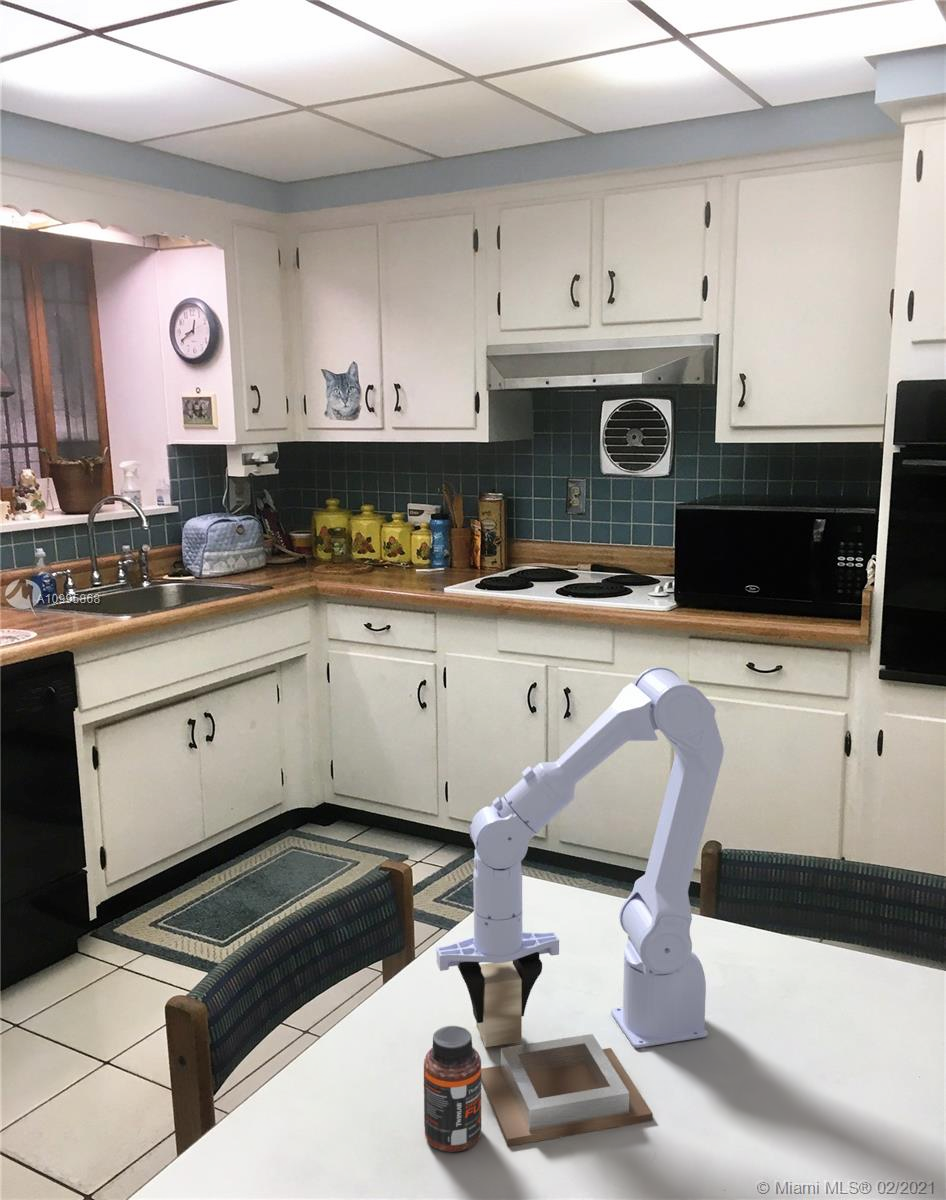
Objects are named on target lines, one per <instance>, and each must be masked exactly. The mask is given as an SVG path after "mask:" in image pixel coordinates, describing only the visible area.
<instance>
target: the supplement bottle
mask: <svg viewBox="0 0 946 1200" xmlns="http://www.w3.org/2000/svg"><path fill="white" fill-rule="evenodd" d="M472 1039H473V1038H472V1033H471V1032H470V1030H468V1029H467V1028H465V1027H462V1026H459V1025H448V1026H447V1025H446V1026H443V1027H440V1028H438V1029H436V1031H435V1032H434V1033H433V1036H432V1045H431V1046H432V1048H430V1049H429V1050H428V1051H427V1053H426V1054H425V1057H424V1060H423V1108H424V1109H423V1112H424V1113H423V1114H424V1115H423V1119H424V1120H423V1122H424V1136H425V1139H426V1141H427V1142H428V1144H429V1145H431V1146H432V1147H433V1148H435V1149H436V1150H437V1149H438V1150H439V1151H443V1152H448V1153H449V1152H451V1153H453V1152H454V1153H457V1152H462V1151H465V1150H467V1149H469V1148H471V1147H473V1146H474V1145H475V1144H476V1143H477V1142H478V1141H479V1139H480V1137H481V1134H482V1083H481V1069H482V1058H481V1055H480V1054H479V1052H478V1051H477V1050H476V1049H475V1048H474V1047H473V1040H472Z"/></svg>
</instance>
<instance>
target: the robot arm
mask: <svg viewBox="0 0 946 1200" xmlns="http://www.w3.org/2000/svg"><path fill="white" fill-rule="evenodd" d="M657 730H659V731H660V732H661V733H662V734H663V736H664V737H665V739H666V741H668V743H669V744H670V746H671V747H672V748H673V750H674V752H675V755H674V759H673V763H672V767H671V772H670V775H669V777H668V781H667V782H668V783H667V786H666V789H665V794H664V798H663V802H662V806H661V810H660V814H659V818H658V820H657V821H658V822H657V826H656V830H655V833H654V837H653V842H652V846H651V849H650V852H649V857H648V860H647V861H648V862H647V866H646V869H645V873H644V874H643V875H642V876H641V877H639V878H638V879H636V880H635V882H634V884H633V885H634V886H633V889H632V891H631V893H630V895H629V896H628V897H627V898H626V899H625V901H624V902H623V904H622V905H621V908H620V911H619V917H618V918H619V923H620V926H621V928H622V930H623V931H624V933H626V934H627V943H626V945H625V948H624V952H623V983H622V984H623V985H622V986H623V993H622V996H623V997H622V1006H619V1007H613V1008H611V1010H610V1014H611V1015H612V1017H613V1019H614V1020H615V1021H616V1023H617V1024H618V1026H619V1027H620V1029H621V1030H622V1031H623V1033H624V1035H625V1037H626V1038H627V1039H628V1041H629V1042H630V1043H631V1045H632V1046H633V1047H634V1048H636V1049H637V1048H646V1047H652V1046H657V1045H663V1044H664V1045H666V1044H671V1043H675V1042H681V1041H689V1040H695V1039H696V1040H697V1039H700V1038H706V1037H707V1036H708V1031H707V1030H706V1028H705V1024H706V1023H705V1022H706V1020H705V1019H706V1018H705V1017H706V996H707V986H706V985H707V982H706V976H705V972H704V968H703V965H702V963H701V961H700V959H699V957H698V956H697V954H696V953H694V952H693V951H692V950H693V942H692V938H691V937H692V936H691V935H690V934H691V933H690V931H691V924H692V921H693V917H692V916H693V914H692V909H691V904H690V898H689V890H690V889H689V887H690V885H691V881H692V876H693V872H694V868H695V865H696V862H697V857H698V854H699V851H700V846H701V842H702V838H703V835H704V831H705V827H706V823H707V819H708V816H709V811H710V808H711V804H712V800H713V796H714V792H715V788H716V785H717V781H718V777H719V773H720V771H721V770H720V769H721V765H722V762H723V758H724V754H725V753H724V750H725V748H724V745H723V740H722V737H721V734H720V731H719V728H718V724H717V721H716V708H715V706H714V705H713V704H712V702H711V701H709V699H708V698H707V696H705V694H703V692H702V691H701V690H700V689H698V688H697V686H693V685H691V684H689V683H688V682H686V681H685V679H682V678H681V677H680V676H679V675H678V674H677V673H676V672H675V671H673V670H672V669H670V668H668V667H665V666H655V667H654V666H653V667H649V668H648V669H645V670H644V671H642V672H641V673H640V674H639V675H638V676H637V678H636V679H635V681H634V683H633V682H630V683H629V684H627V685H626V686H624V687H623V689H622V690H621V691H620V692H619V694H618V695H617V696H616V698H615V699H614V701H613V702H612V703H611V705H610V706H609V707H608V708H606V710H605V711H604V712H603V713H601V714H600V715H599V717H598V718H597V719H595V721H593V723H592V724H591V725H590V726H589V727H588V728H587V729H586V730H585V731H584V732H583V733H582V734H581V735H580V737H578V738H577V739H576V741H575V742H574V743H572V745H571V746H570V747H569V748H568V749H567V750H565V752H564V753H563V754H561V756H560V757H559V758H558V759H557V760H556V761H547V762H545V761H544V762H543V761H542V762H538V764H536V765H535V766H534V767H533V768H532V767H531V766H529V765H528V766H527V767H526V768H525V769H524V770H523V771H522V772H521V775H522V776H523V778H521V779H520V780H519V781H518V782H517V783H516V784H515V785H513V787H512V788H511V789H509V791H507V792H506V793H505V794H504V795H503V796H502V797H499V796H496V798H494V800H493V801H492V804H491V805H490V806H487V805H486V806H484V807H483V808H481V809H479V810H478V811H477V812H476V813H475V815H474V816H473V818H472V821H471V823H470V825H469V826H468V833H469V836H470V839H471V841H472V842H473V844H474V848H475V849H474V857H473V866H474V868H473V874H472V875H473V876H472V877H473V883H472V884H473V936H472V937H469V938H466V939H464V940H461V941H458V942H455V943H453V944H452V943H451V944H449V945H445V946H439V947H436V965H437V968H438V969H439V971H440V972H442V971H443V972H444V971H448V970H449V969H450V967H457V969H458V970H459V972H460V975H461V977H462V979H463V980H464V983H465V986H466V988H467V991H468V994H469V998H470V1002H471V1006H472V1013H473V1017H474V1019H475V1021H477V1023H482V1022H483V987H484V980H485V978H484V976H483V974H482V972H481V967H480V965H481V964H480V963H488V964H489V963H504V962H510V961H512V963H513V965H514V967H515V968H516V970H517V972H518V974H519V976H520V977H521V998H522V1017H525V1011H526V1007H527V1004H528V1003H527V1002H528V1000H529V997H530V994H531V992H532V989H533V986H534V985H535V983H536V982H537V979H538V978H539V977H540V975H541V974H542V971H543V962H542V960H541V959H540V955H544V954H549V955H550V956H559V955H560V939H559V937H558V936H557V935H556V933H555V932H554V931H552V932H526V931H525V932H523V870H522V861H523V860H524V859H525V857H526V855H527V852H528V849H529V843H530V840H532V839H533V838H534V837H535V836H536V835H537V834H538V833H539V832H540V831H542V829H543V828H545V827H546V826H547V825H548V824H549V823H550V822H551V821H552V820H553V819H554V818H555V817H557V815H559V813H561V812H562V811H563V810H564V809H565V808H566V807H568V805H570V803H572V802H573V801H574V797H575V790H576V789H575V787H576V785H577V784H578V782H580V781H581V780H582V779H583V778H585V777H586V776H587V775H588V774H590V773H591V772H592V771H593V770H594V769H595V768H597V767H598V766H599V765H600V764H601V763H603V762H604V761H606V759H608V758H609V757H610V756H611V755H613V754H614V753H615V752H616V751H618V749H620V748H622V746H624V745H625V744H626V743H628V742H632V741H633V742H635V741H636V742H637V741H638V742H639V741H642V742H643V741H645V742H646V741H647V742H649V741H651V742H653V741H658V740H659V738H658V735H657V734H656V732H655V731H657Z"/></svg>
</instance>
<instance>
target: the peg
mask: <svg viewBox="0 0 946 1200" xmlns="http://www.w3.org/2000/svg"><path fill="white" fill-rule="evenodd" d="M479 965H480V967H481V972H482V974H483V976H484V978H485V980H484V987H483V1022H482V1023H477V1021H476V1020H475V1021H476V1022H475V1023H476V1026H475V1027H476V1028H477V1031H478V1033H479V1035H480V1038H481V1041H482V1042H483V1044H484V1047H485V1048H489V1047H494V1046H501V1045H508V1044H514V1043H521V1042H522V1041H523V1040H522V1038H523V1037H522V1033H523V1032H522V1030H523V1028H522V1027H523V1026H522V1024H523V1023H522V1018H523V1016H522V998H521V977H520V976H519V974H518V972H517V970H516V968H515V967H514V965H513V962H512V961H510V962H504V963H489V962H488V963H483V964H479Z"/></svg>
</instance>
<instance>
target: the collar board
mask: <svg viewBox="0 0 946 1200" xmlns="http://www.w3.org/2000/svg"><path fill="white" fill-rule="evenodd" d="M481 1086H482V1088H483V1090H484V1093H485V1095H486V1098H487V1100H488V1102H489V1105H490V1107H491V1109H492V1112H493V1114H494V1117H495V1120H496V1122H497V1124H498V1127H499V1130H500V1131H501V1134H502V1137H503V1140H504V1141H505V1144H506V1146H507V1147H511V1146H516V1145H521V1144H527V1143H533V1142H538V1141H544V1140H545V1141H546V1140H549V1139H556V1138H560V1137H566V1136H571V1135H572V1136H573V1135H579V1134H584V1133H589V1132H594V1131H600V1130H601V1131H602V1130H605V1129H611V1128H616V1127H621V1126H622V1127H623V1126H627V1125H632V1124H638V1123H645V1122H650V1121H653V1119H654V1118H653V1111H652V1110H651V1108H650V1107H649V1105H648V1104H647V1102H646V1101H645V1099H644V1098H643V1096H642V1094H641V1093H640V1091H639V1089H638V1088H637V1086H636V1085H635V1083H634V1082H633V1081H632V1079H631V1077H630V1075H629V1074H628V1073H627V1071H626V1069H625V1068H624V1066H623V1064H622V1063H621V1062H620V1060H619V1058H618V1057H617V1055H616V1054H615V1053H614V1050H613V1048H612V1047H608V1048H602V1047H601V1045H600V1044H599V1042H598V1041H597V1039H596V1037H595V1036H594V1033H589V1034H584V1035H576V1036H569V1037H564V1038H558V1039H550V1040H545V1041H537V1042H532V1043H525V1044H519V1045H513V1046H507V1047H500V1065H496V1066H489V1067H483V1068H482V1067H481Z"/></svg>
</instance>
